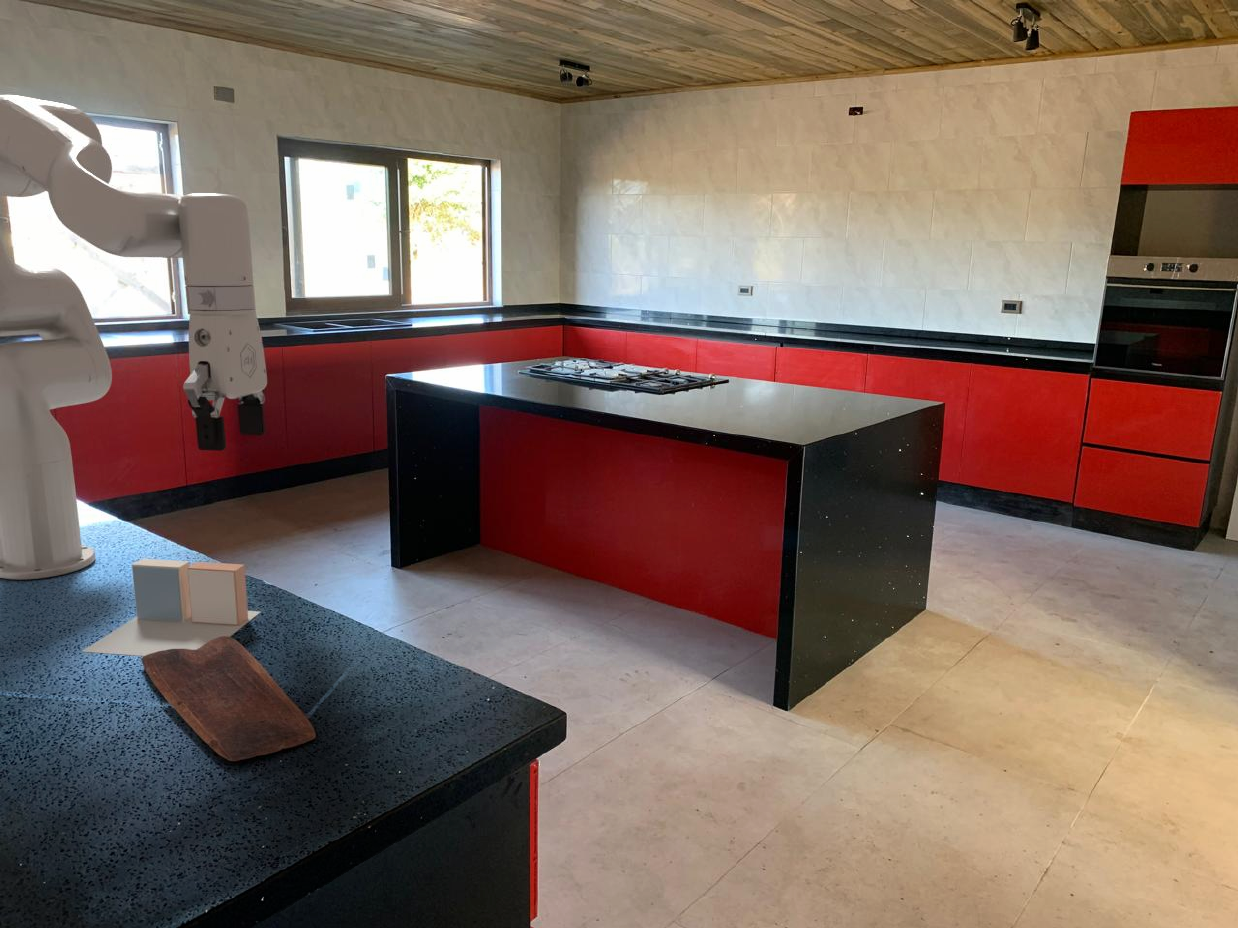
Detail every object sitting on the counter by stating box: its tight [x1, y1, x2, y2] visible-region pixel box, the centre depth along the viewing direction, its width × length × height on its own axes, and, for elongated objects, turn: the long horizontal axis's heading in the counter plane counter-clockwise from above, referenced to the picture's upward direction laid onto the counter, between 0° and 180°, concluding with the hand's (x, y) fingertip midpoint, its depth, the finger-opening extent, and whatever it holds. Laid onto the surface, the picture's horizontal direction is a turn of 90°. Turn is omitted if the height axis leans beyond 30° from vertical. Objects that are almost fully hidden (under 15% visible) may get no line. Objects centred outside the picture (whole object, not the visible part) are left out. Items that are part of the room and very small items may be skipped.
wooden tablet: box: [140, 636, 317, 762], centre depth 92 cm, size 26×2×10 cm
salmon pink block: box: [187, 561, 249, 625], centre depth 110 cm, size 6×2×7 cm, turn 85°
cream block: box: [131, 558, 191, 622], centre depth 110 cm, size 6×2×7 cm, turn 85°
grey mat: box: [81, 610, 261, 657], centre depth 107 cm, size 14×14×1 cm
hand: (233, 441), depth 112 cm, fingers open, 9 cm apart
